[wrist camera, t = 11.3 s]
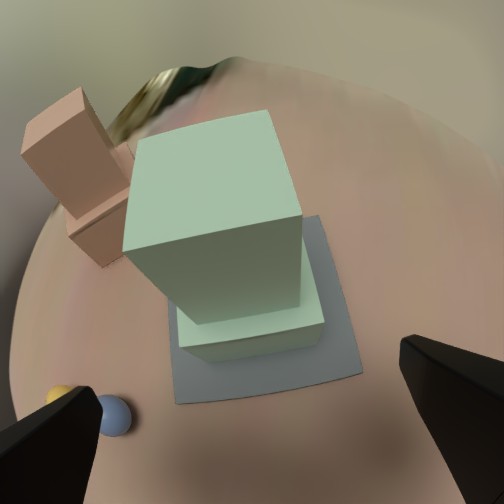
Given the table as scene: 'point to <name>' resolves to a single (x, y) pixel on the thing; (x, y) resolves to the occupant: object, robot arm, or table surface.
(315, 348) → the mat
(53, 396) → the marble amber
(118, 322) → the table surface
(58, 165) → the pink stepped block
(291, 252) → the stepped green tower
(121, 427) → the blue ball
